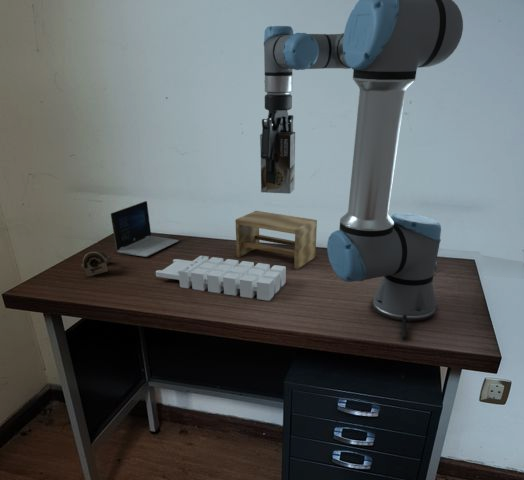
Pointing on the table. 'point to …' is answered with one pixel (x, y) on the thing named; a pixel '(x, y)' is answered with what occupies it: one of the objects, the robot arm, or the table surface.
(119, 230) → the laptop
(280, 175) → the coffee box
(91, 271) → the brown rounded piece
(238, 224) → the two-tier rack
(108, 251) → the table surface
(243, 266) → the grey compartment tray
